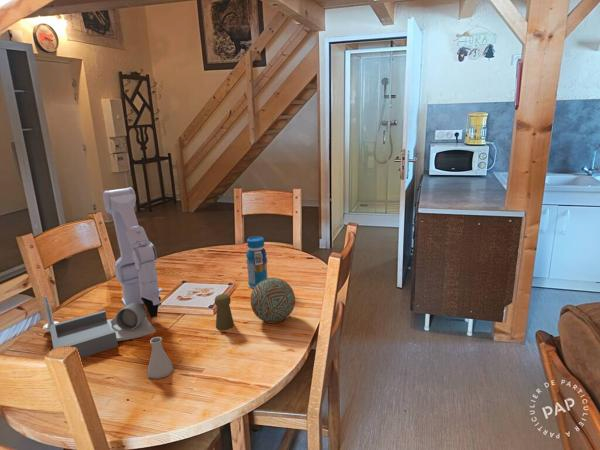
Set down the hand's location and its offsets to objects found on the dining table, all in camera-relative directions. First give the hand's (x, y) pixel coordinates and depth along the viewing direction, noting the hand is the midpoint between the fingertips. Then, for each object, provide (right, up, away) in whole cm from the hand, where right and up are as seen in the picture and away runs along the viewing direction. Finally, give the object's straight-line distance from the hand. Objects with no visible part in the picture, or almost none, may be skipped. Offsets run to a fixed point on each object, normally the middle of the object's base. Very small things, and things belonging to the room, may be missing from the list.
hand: (153, 316), depth 141 cm
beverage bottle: (+34, +7, +27) cm, 44 cm away
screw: (-33, -4, -3) cm, 33 cm away
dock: (-13, -6, -8) cm, 16 cm away
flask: (+12, -10, -27) cm, 31 cm away
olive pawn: (+25, -2, -4) cm, 26 cm away
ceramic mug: (-7, -2, -4) cm, 9 cm away
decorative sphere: (+42, -1, -1) cm, 42 cm away
